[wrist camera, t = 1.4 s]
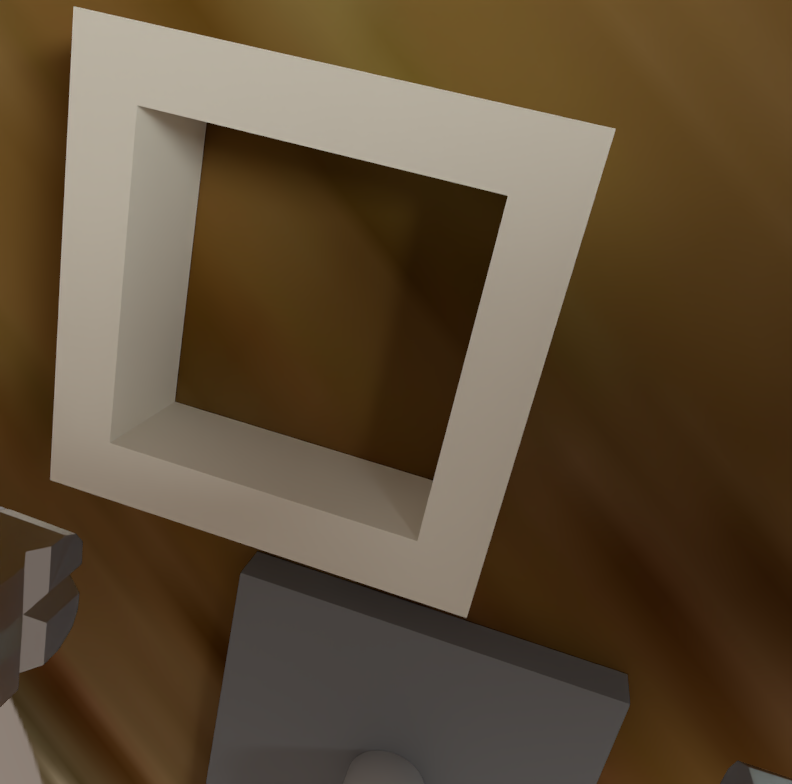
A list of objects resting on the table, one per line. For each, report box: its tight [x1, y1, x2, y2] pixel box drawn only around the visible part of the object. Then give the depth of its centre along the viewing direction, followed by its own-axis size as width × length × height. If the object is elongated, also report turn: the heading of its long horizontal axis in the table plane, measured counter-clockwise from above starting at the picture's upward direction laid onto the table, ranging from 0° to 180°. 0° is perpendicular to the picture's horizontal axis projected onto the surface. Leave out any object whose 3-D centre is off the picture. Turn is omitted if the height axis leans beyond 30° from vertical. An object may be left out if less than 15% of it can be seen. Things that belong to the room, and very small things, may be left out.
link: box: [50, 7, 616, 618], centre depth 22 cm, size 14×14×4 cm
